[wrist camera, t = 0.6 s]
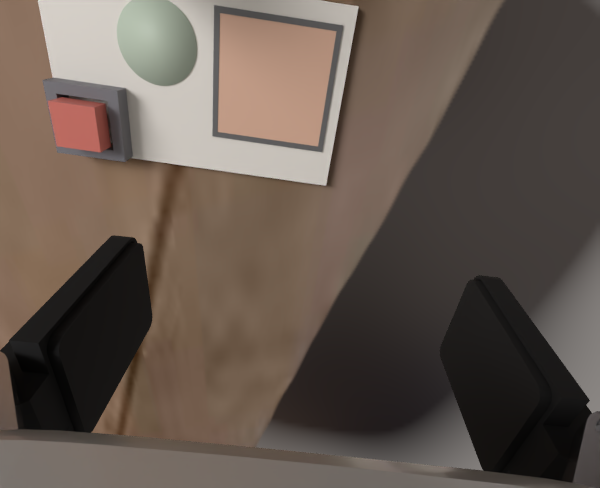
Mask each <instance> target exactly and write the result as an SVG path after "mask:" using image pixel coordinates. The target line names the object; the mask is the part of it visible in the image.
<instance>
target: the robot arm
mask: <svg viewBox="0 0 600 488" xmlns="http://www.w3.org/2000/svg"><path fill="white" fill-rule="evenodd" d="M151 323H152V309H151V302H150V295H149V287H148V280H147V273H146V265H145V258H144V251H143V246H142V244H140V243H137V241H136V239H135V238H132V237H123V236H111V237H110V238H109V239H108V240H107V241H106V242H105V243H104V244H103V245H102V246H101V247H100V248H99V249H98V250H97V251H96V252H95V253H94V254H93V255H92V256H91V257H90V258H89V259H88V260H87V261H86V262H85V263H84V264H83V265H82V266H81V267H80V268H79V269H78V270H77V271H76V273H75V274H74V275H73V276H72V277H71V278H70V279H69V280H68V281H67V282H66V283H65V284H64V285H63V286H62V287H61V288H60V289H59V290H58V291H57V292H56V293H55V294H54V295H53V296H52V297H51V298H50V299H49V300H48V301H47V302H46V303H45V304H44V305H43V306H42V307H41V308H40V309H39V310H38V311H37V312H36V313H35V314H34V315H33V316H32V317H31V318H30V319H29V320H28V322H27V323H26V324H25V325H24V326H23V327H22V328H21V329H20V330H19V331H18V332H17V333H16V334H15V335H14V336H13V337H12V338H11V339H10V340H9V342H8V343H7V344H6V345H5V346H4V347H3V348H2V349H1V350H0V488H600V411H597V412H595V413H591V411H590V410H589V408H588V407H587V406H586V404H587V403H588V402H589V401H590V400H589V399H588V397H587V396H586V395H585V393H584V392H583V390H582V389H581V388H580V386H579V385H578V383H577V382H576V381H575V379H574V378H573V377H572V375H571V374H570V373H569V371H568V370H567V369H566V367H565V366H564V364H563V363H562V362H561V360H560V359H559V357H558V356H557V355H556V353H555V352H554V351H553V349H552V348H551V346H550V345H549V344H548V342H547V341H546V340H545V338H544V337H543V336H542V334H541V333H540V331H539V330H538V329H537V327H536V326H535V325H534V323H533V322H532V321H531V319H530V318H529V316H528V315H527V314H526V312H525V311H524V309H523V308H522V307H521V305H520V304H519V303H518V301H517V300H516V299H515V297H514V296H513V294H512V293H511V292H510V290H509V289H508V288H507V286H506V285H505V283H504V282H503V281H502V280H501V279H500V278H498V277H489V276H476V278H475V279H474V280H470V281H469V282H468V283H467V285H466V288H465V290H464V292H463V295H462V297H461V299H460V302H459V304H458V306H457V309H456V311H455V314H454V316H453V318H452V321H451V323H450V325H449V328H448V330H447V332H446V335H445V337H444V340H443V342H442V344H441V347H440V357H441V360H442V363H443V365H444V368H445V371H446V373H447V376H448V379H449V381H450V384H451V387H452V390H453V392H454V395H455V398H456V400H457V403H458V406H459V408H460V411H461V413H462V416H463V419H464V421H465V424H466V427H467V430H468V432H469V435H470V437H471V440H472V443H473V446H474V448H475V451H476V454H477V456H478V459H479V462H480V464H481V467H482V469H483V470H484V471H481V470H471V469H461V468H452V467H442V466H433V465H423V464H414V463H404V462H395V461H385V460H376V459H366V458H356V457H346V456H335V455H325V454H315V453H306V452H295V451H284V450H275V449H264V448H255V447H245V446H234V445H223V444H213V443H202V442H191V441H180V440H170V439H159V438H148V437H138V436H126V435H113V434H100V433H91V432H92V431H93V429H94V428H95V426H96V424H97V422H98V420H99V419H100V417H101V415H102V413H103V411H104V410H105V408H106V406H107V404H108V402H109V401H110V399H111V397H112V395H113V393H114V392H115V390H116V388H117V386H118V384H119V383H120V381H121V379H122V377H123V375H124V374H125V372H126V370H127V368H128V366H129V364H130V363H131V361H132V359H133V357H134V355H135V354H136V352H137V350H138V348H139V346H140V345H141V343H142V341H143V339H144V337H145V336H146V334H147V332H148V330H149V328H150V326H151Z"/></svg>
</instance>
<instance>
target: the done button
mask: <svg viewBox="0 0 600 488" xmlns="http://www.w3.org/2000/svg"><path fill="white" fill-rule="evenodd" d="M48 105H49V110H50V115H51V120H52V124H53V129H54V134H55V139H56V144H57V146H58V147H65V148H73V149H80V150H87V151H94V152H102V151H104V150H106V149H108V148H109V147H111V142H110V134H109V126H108V119H107V111H106V104H105V103H98V102H91V101H85V100H78V99H71V98H64V97H60V98H56V99H53V100H49V101H48Z"/></svg>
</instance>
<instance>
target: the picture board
mask: <svg viewBox="0 0 600 488" xmlns="http://www.w3.org/2000/svg"><path fill="white" fill-rule="evenodd" d="M38 3H39V8H40V14H41V19H42V24H43V29H44V35H45V40H46V45H47V50H48V55H49V61H50V66H51V71H52V76H53V78H50V79H45V80H43V85H44V90H45V95H46V99H47V104H48V101H49V100H53V99H56V98H60V97H64V98H71V99H78V100H85V101H91V102H98V103H105V104H106V111H107V119H108V126H109V134H110V142H111V147H109V148H108V149H106V150H104V151H102V152H94V151H87V150H80V149H73V148H65V147H58V146H57V144H56V148H57V152H58V153H65V154H72V155H79V156H86V157H94V158H101V159H108V160H115V161H122V162H126V161H127V160H129V159H130V158H134V159H141V160H148V161H155V162H162V163H169V164H176V165H183V166H190V167H197V168H205V169H212V170H219V171H226V172H233V173H240V174H247V175H254V176H261V177H268V178H275V179H282V180H289V181H296V182H303V183H310V184H317V185H324V186H326V183H327V178H328V172H329V167H330V161H331V156H332V150H333V145H334V139H335V134H336V128H337V123H338V117H339V112H340V106H341V101H342V95H343V90H344V84H345V79H346V73H347V68H348V62H349V57H350V51H351V46H352V40H353V35H354V29H355V24H356V19H357V13H358V8H359V6H352V5H346V4H340V3H334V2H327V1H321V0H38ZM48 109H49V105H48ZM49 114H50V110H49ZM50 119H51V115H50ZM51 124H52V120H51ZM52 129H53V124H52ZM53 133H54V129H53ZM54 138H55V134H54ZM55 143H56V139H55Z"/></svg>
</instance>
